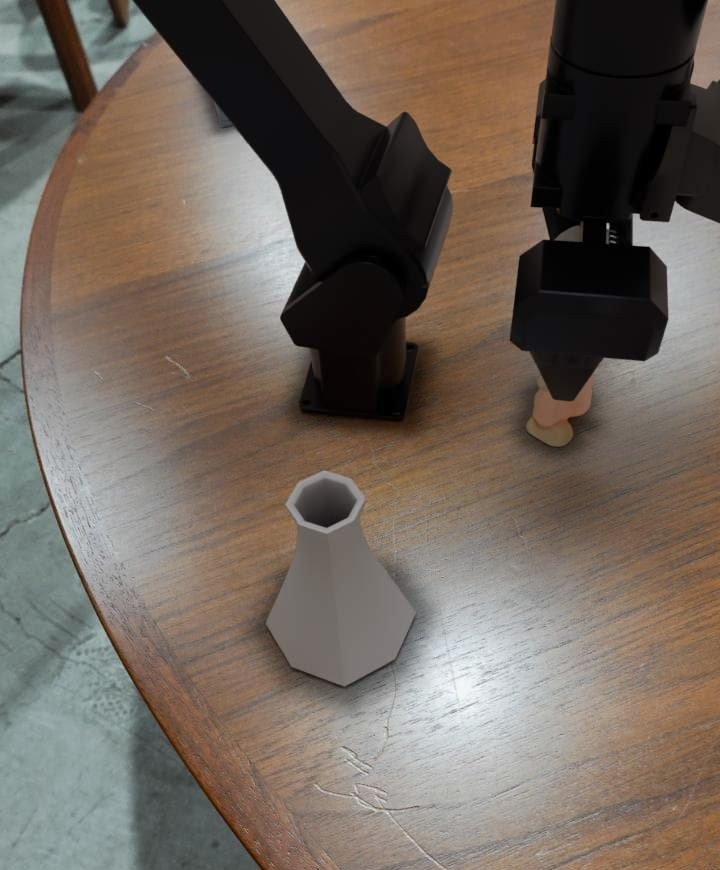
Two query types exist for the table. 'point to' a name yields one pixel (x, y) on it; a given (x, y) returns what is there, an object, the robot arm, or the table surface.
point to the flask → (336, 588)
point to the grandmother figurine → (554, 413)
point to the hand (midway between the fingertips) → (567, 337)
